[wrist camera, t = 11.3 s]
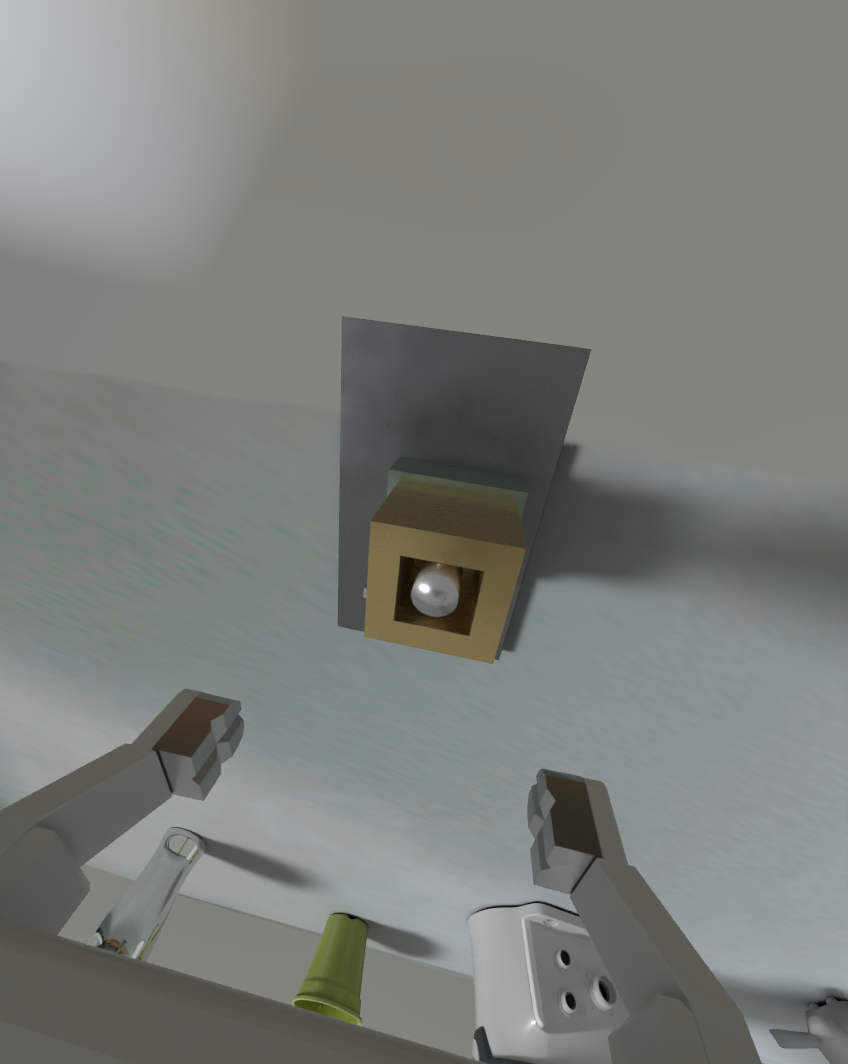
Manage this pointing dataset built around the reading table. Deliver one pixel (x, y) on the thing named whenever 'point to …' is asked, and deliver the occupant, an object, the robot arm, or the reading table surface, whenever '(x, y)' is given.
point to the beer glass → (149, 898)
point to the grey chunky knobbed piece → (821, 1031)
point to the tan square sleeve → (450, 538)
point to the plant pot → (336, 971)
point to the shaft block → (445, 437)
